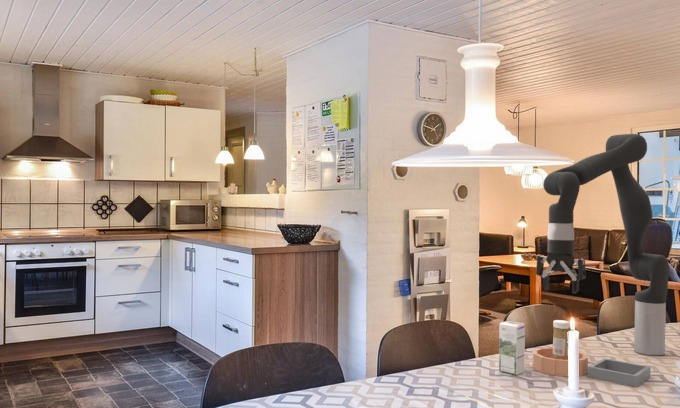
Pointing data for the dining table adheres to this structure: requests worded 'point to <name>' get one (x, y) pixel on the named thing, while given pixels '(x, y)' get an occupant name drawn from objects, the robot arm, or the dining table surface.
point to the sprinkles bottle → (560, 339)
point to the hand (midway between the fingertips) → (560, 291)
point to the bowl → (555, 362)
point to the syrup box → (512, 347)
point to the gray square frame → (619, 372)
